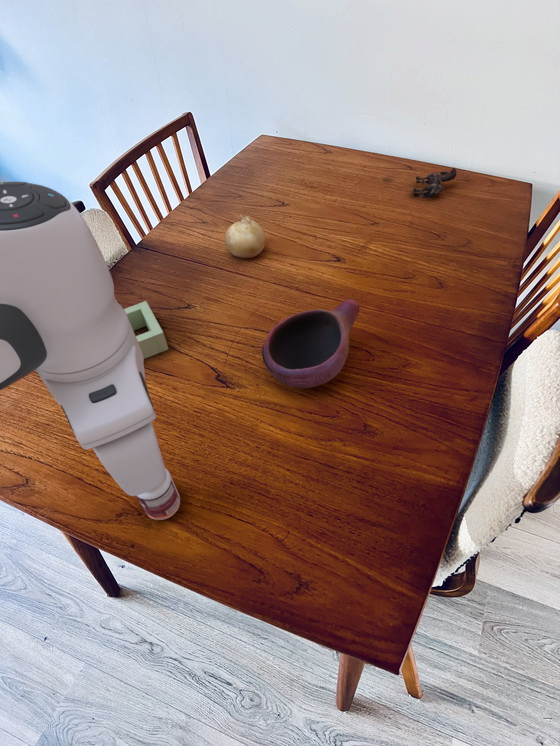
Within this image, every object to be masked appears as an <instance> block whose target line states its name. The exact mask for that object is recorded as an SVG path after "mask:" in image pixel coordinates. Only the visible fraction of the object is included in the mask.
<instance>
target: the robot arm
mask: <svg viewBox="0 0 560 746" xmlns="http://www.w3.org/2000/svg"><path fill="white" fill-rule="evenodd" d="M124 309H125V308H124V307H123V306H122V305H121V304H120V303H119V302H118V300H117V299H116V296H115V284H114V280H113V277H112V274H111V272H110V269H109V267H108V264H107V262H106V260H105V256H104V255H103V253H102V251H101V248H100V247H99V244H98V243H97V240H96V238H95V236H94V235H93V232H92V230H91V229H90V227H89V225H88V223H87V222H86V220H85V218H84V217H83V216H82V214H81V212H80V211H79V210H78V208H76V206H75V205H74V203H72V202H71V201H70V200H69V199H68V198H67V197H66V196H64V195H63V194H62V193H60V192H58V191H56V190H55V189H53V188H51V187H47V186H44V185H41V184H36V183H30V182H27V181H2V182H0V391H3V390H4V389H6V388H8V387H10V386H12V385H14V384H15V383H17V382H19V381H21V380H22V379H23V378H26V377H27V376H28V375H30V374H32V373H33V372H34V371H36V374H38V376H39V378H40V380H41V381H42V382H43V384H44V385H45V387H46V389H47V390H48V391H49V394H50V395H51V396H52V397H53V400H55V402H56V403H57V405H59V407H60V408H61V409H62V412H63V413H64V415H65V417H66V420H67V422H68V424H69V426H70V430H71V431H72V433H73V434H74V436H75V438H76V440H77V442H78V444H79V445H80V446H81V448H82V449H83V450H86V451H87V450H90V449H92V450H93V451H94V453H95V455H96V457H97V458H98V460H99V462H100V463H101V465H102V466H103V467H104V469H105V470H106V471H107V472H108V474H109V475H110V476H111V478H112V479H113V480H114V482H116V484H117V485H118V486H119V487H120V488H121V490H122V491H123V492H124V493H125V494H126V495H128V496H130V497H136V496H137V495H140V494H143V493H145V492H147V491H150V490H152V489H154V488H155V487H157V486H159V485H161V484H162V483H163V482H164V481H165V479H166V470H165V468H166V467H165V463H164V460H163V455H162V453H161V449H160V444H159V442H158V438H157V434H156V432H155V427H154V425H153V422H154V421H155V420H156V418H157V414H156V412H155V409H154V404H153V402H152V399H151V396H150V393H149V389H148V385H147V382H146V371H145V365H144V362H145V359H144V358H143V354H142V351H141V348H140V346H139V343H138V341H137V338H136V336H137V335H136V334H135V330H134V331H133V329H132V326H131V324H130V321H129V319H128V316H127V314H126V312H125V310H124Z"/></svg>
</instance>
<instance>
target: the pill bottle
mask: <svg viewBox="0 0 560 746" xmlns="http://www.w3.org/2000/svg"><path fill="white" fill-rule="evenodd" d="M165 470H166V479H165V481H164V482H163V483H162V484H161V485H159V486H157V487H155V488H154V489H152V490H150V491H147V492H145V493H143V494H140V495H137V496H135V497H136V498H137V500H138V502H139V503H140V505H141V507H142V508H143V510H144V513H145V514H146V515H147V516H148V517H149V518H151V519H152V520H155V521H162V520H167V519H169V518H171V517H172V516H174V515H175V514H176V512H177V511H178V510H179V508H180V505H181V497H180V493H179V492H178V491H179V490H178V488H177V487H176V484H175V482H174V479H173V477H172V475H171V472H170V471H169V470H168V469H167V468H166V467H165Z"/></svg>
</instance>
